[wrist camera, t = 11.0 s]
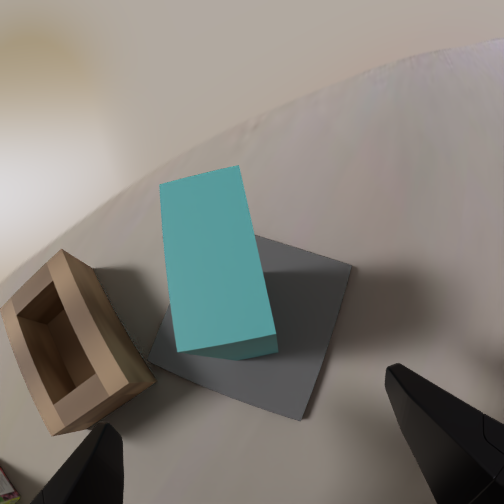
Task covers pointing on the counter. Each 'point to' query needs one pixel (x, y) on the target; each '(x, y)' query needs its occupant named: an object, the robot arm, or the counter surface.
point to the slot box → (72, 346)
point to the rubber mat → (287, 331)
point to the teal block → (215, 268)
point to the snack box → (7, 490)
